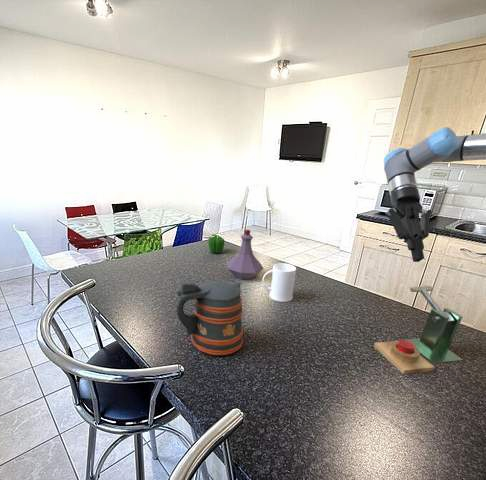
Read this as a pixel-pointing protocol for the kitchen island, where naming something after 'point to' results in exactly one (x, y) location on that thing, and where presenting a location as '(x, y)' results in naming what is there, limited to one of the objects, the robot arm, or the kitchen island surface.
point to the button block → (404, 358)
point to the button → (405, 346)
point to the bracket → (438, 337)
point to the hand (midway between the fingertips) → (418, 259)
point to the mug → (281, 282)
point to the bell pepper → (216, 244)
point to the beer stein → (213, 316)
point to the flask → (245, 260)
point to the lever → (431, 300)
